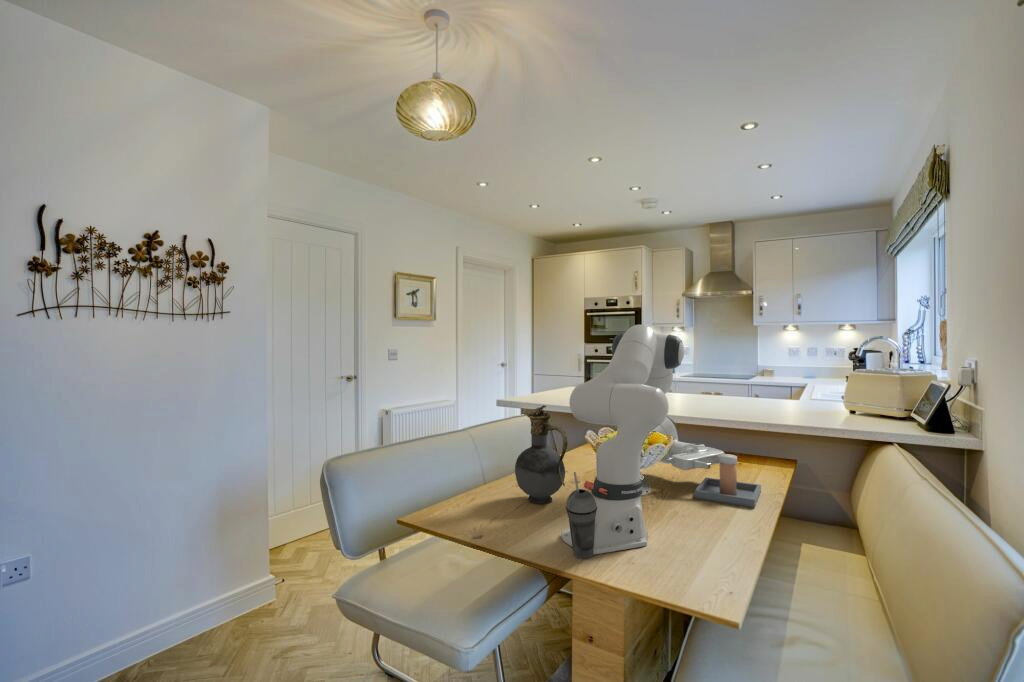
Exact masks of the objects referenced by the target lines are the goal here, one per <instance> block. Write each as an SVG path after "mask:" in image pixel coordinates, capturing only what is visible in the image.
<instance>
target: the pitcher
mask: <svg viewBox="0 0 1024 682" xmlns="http://www.w3.org/2000/svg"><path fill="white" fill-rule="evenodd" d="M547 406H548V405H546V404H545V405H542V406H540V407H536V408H534V409H533V411H529V412H524V416H526V417H527V418H529V421H530V434H531V436H530V437H531V438H530V439H531V446H530V447H528V448H526V449H524V450H523V451H522V452H521V453H519V455H518V456H517V458H516V460H515V465H514V474H515V475H514V476H515V480H516V482H517V485H518V487H519V489H520V490H521V491H523V493H525V494H526V495H527V500H528V501H529V502H530V503H532V504H534V505H535V504H536V505H546V504H550V503H552V502H553V497H552V496H553V495H554V494H555V493H557V492H558V491H559V490H560V489H561V487H562V486H563V487H564V488H565V485H566V483H565V478H566V468H565V467H566V466H565V464H564V461H563V459H564V457H565V455H566V451H567V448H568V445H569V444H568V436H567V433H566V430H565V429H564V428H563V427H562V426H560V425H558V424H552V425H550V424H549V419H550V418H552V416H551V415H552V412H545V410H544V409H545V408H547ZM549 431H550V432H551V431H556V432H559V434H560V435H561V439H562V443H563V444H562V452H561V455H560V454H559V453H558V451H556V450H555V449H553V448H552V447H549V446H548V434H549Z"/></svg>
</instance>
